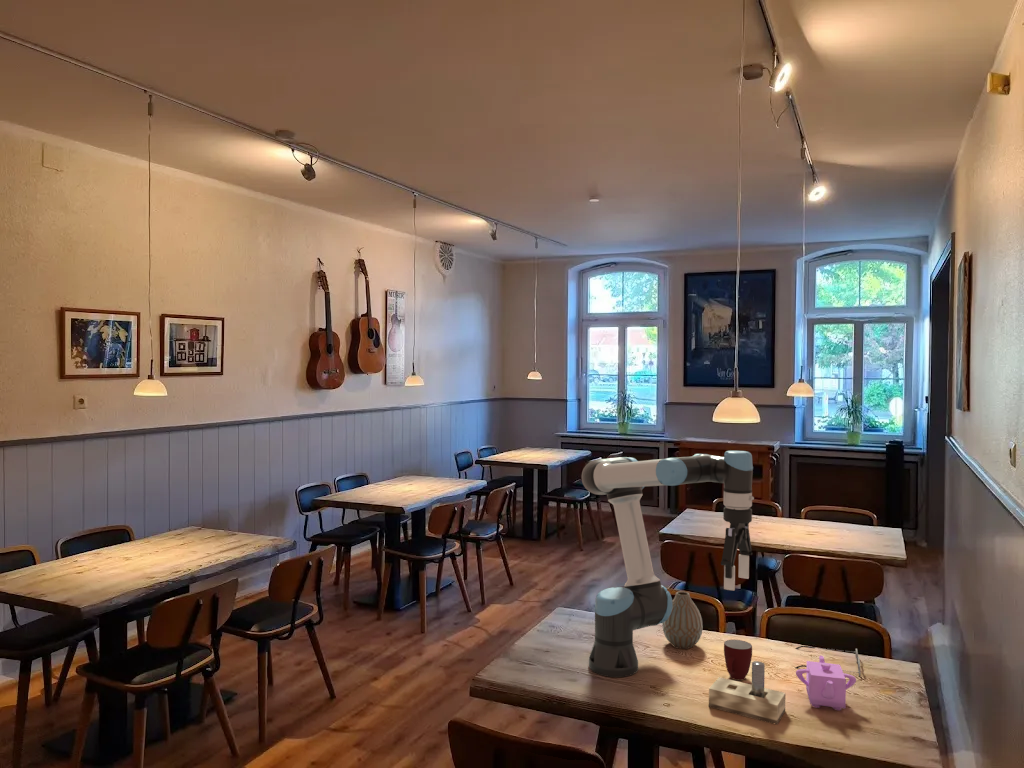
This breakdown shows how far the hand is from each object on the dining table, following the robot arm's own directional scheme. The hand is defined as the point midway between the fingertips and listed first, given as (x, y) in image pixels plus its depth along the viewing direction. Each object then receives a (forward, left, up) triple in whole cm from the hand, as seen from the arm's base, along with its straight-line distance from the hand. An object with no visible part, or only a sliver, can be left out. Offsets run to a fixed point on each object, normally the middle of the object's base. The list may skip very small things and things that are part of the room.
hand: (736, 583), depth 201 cm
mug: (-4, +15, -33) cm, 36 cm away
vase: (-27, +32, -33) cm, 53 cm away
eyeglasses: (+16, +44, -33) cm, 58 cm away
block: (+4, -3, -33) cm, 33 cm away
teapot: (+21, +13, -33) cm, 41 cm away
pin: (+7, -3, -32) cm, 33 cm away
